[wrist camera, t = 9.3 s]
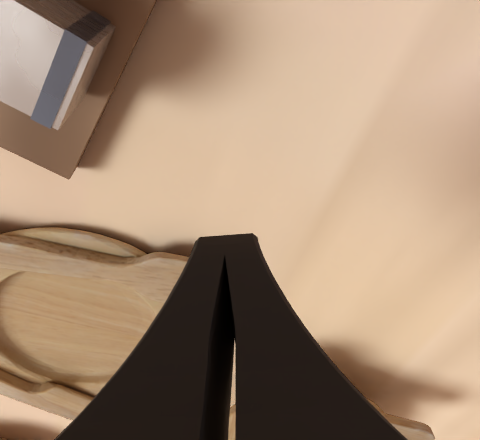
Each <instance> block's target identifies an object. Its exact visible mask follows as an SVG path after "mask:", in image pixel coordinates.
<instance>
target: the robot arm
mask: <svg viewBox="0 0 480 440" xmlns="http://www.w3.org/2000/svg"><path fill="white" fill-rule="evenodd" d="M234 340H235V344H236V421H235V440H408V439H407V438H406V437H404V436H403V435H402V434H401V433H400V432H399V431H398V430H397V429H396V428H395V427H394V426H393V425H392V424H391V423H390V422H389V421H388V420H387V419H386V418H385V417H384V416H383V415H382V414H381V413H380V412H379V411H378V410H377V409H376V408H375V407H374V406H373V405H372V404H371V403H370V402H369V401H368V400H367V399H366V398H365V397H364V396H363V395H362V394H361V393H360V392H359V391H358V390H357V389H356V388H355V387H354V386H353V385H352V383H351V382H350V381H349V380H348V379H347V378H346V377H345V375H344V374H343V373H342V372H341V371H340V370H339V369H338V367H337V366H336V365H335V364H334V363H333V362H332V361H331V359H330V358H329V357H328V356H327V354H326V353H325V352H324V351H323V349H322V348H321V347H320V346H319V344H318V343H317V342H316V341H315V339H314V338H313V337H312V335H311V334H310V333H309V331H308V330H307V329H306V327H305V326H304V324H303V323H302V321H301V320H300V319H299V317H298V316H297V314H296V313H295V311H294V310H293V308H292V307H291V305H290V304H289V302H288V300H287V299H286V297H285V296H284V294H283V292H282V290H281V289H280V287H279V285H278V284H277V282H276V280H275V278H274V277H273V275H272V273H271V271H270V269H269V267H268V265H267V263H266V261H265V258H264V256H263V254H262V251H261V249H260V246H259V243H258V238H257V237H256V236H255V235H254V234H253V233H250V234H236V235H223V236H209V237H200V238H199V239H198V240H197V241H196V242H195V245H194V247H193V250H192V252H191V254H190V257H189V259H188V261H187V263H186V265H185V267H184V269H183V271H182V273H181V275H180V277H179V279H178V280H177V282H176V284H175V286H174V287H173V289H172V291H171V293H170V295H169V296H168V298H167V300H166V302H165V303H164V305H163V306H162V308H161V310H160V311H159V313H158V314H157V316H156V317H155V319H154V320H153V322H152V323H151V325H150V326H149V328H148V329H147V331H146V333H145V334H144V335H143V337H142V338H141V340H140V341H139V342H138V344H137V345H136V347H135V348H134V349H133V351H132V352H131V353H130V355H129V356H128V357H127V359H126V360H125V361H124V362H123V364H122V365H121V366H120V368H119V369H118V370H117V371H116V373H115V374H114V375H113V376H112V377H111V379H110V380H109V381H108V382H107V383H106V384H105V386H104V387H103V388H102V389H101V390H100V391H99V393H98V394H97V395H96V396H95V397H94V398H93V400H92V401H91V402H90V403H89V404H88V405H87V406H86V407H85V408H84V410H83V411H82V412H81V413H80V414H79V415H78V416H77V417H76V418H75V419H74V420H73V421H72V422H71V423H70V424H69V425H68V426H67V427H66V428H65V429H64V430H63V431H62V432H61V433H60V434H59V435H58V436H57V437H56V438H55V439H54V440H228V433H229V416H230V401H231V386H232V371H233V356H234Z"/></svg>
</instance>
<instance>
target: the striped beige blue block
mask: <svg viewBox="0 0 480 440" xmlns="http://www.w3.org/2000/svg"><path fill="white" fill-rule="evenodd" d="M110 22H111V21H109V20H108V19H106V18H105V17H103V16H101V15H100V14H98V13H97V12H95V11H92V12H91V11H90V10H88V9H86V8H85V7H83V6H81V5H80V4H78V3H77V2H75V1H73V0H0V101H1V102H3V103H5V104H7V105H9V106H11V107H13V108H15V109H17V110H19V111H21V112H23V113H25V114H27V115H29V116H31V118H30V119H32V120H33V121H35V122H37V123H39V124H41V125H43V126H45V127H47V128H49V129H51V128H54V129H56V130H59V129H60V127H61V126H62V125H63V124H64V123H65V121H66V120H67V119H68V118H69V116H70V115H71V114H72V113H73V111H74V110H75V109H76V108H77V106H78V105H79V104H80V103H81V102H82V100H83V99H84V97H85V95H86V92H87V90H88V88H89V86H90V83H91V81H92V79H93V77H94V75H95V72H96V70H97V68H98V66H99V63H100V61H101V59H102V57H103V54H104V52H105V50H106V48H107V45H108V43H109V41H110V39H111V36H112V34H113V32H114V30H115V26H114V25H112V24H111V23H110Z"/></svg>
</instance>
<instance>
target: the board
mask: <svg viewBox="0 0 480 440" xmlns="http://www.w3.org/2000/svg"><path fill="white" fill-rule="evenodd" d="M73 1H75V2H77V3H78V4H80V5H81V6H83V7H85V8H86V9H88V10H90V11H91V12H92V11H95V12H97V13H98V14H100V15H101V16H103V17H105V18H106V19H108V20H109V21H111V22H110V23H111V24H112V25H114V26H115V30H114V32H113V34H112V36H111V39H110V41H109V43H108V45H107V48H106V50H105V52H104V54H103V57H102V59H101V61H100V63H99V66H98V68H97V70H96V72H95V75H94V77H93V79H92V81H91V83H90V86H89V88H88V90H87V92H86V95H85V97H84V99H83V100H82V102H81V103H80V104H79V105H78V106H77V108H76V109H75V110H74V111H73V113H72V114H71V115H70V116H69V118H68V119H67V120H66V121H65V123H64V124H63V125H62V126H61V127H60V129H59V130H56V129H54V128H51V129H49V128H47V127H45V126H43V125H41V124H39V123H37V122H35V121H33V120H32V119H30V118H31V116H29V115H27V114H25V113H23V112H21V111H19V110H17V109H15V108H13V107H11V106H9V105H7V104H5V103H3V102H1V101H0V147H2V148H4V149H6V150H8V151H10V152H12V153H14V154H17V155H19V156H21V157H23V158H25V159H27V160H29V161H31V162H33V163H35V164H37V165H40V166H42V167H44V168H46V169H48V170H50V171H52V172H54V173H56V174H58V175H60V176H63V177H65V178H67V179H70V178H71V176H72V174H73V173H74V171H75V169H76V168H77V166H78V164H79V161H80V159H81V157H82V155H83V153H84V151H85V149H86V147H87V145H88V143H89V141H90V139H91V136H92V134H93V132H94V130H95V128H96V126H97V124H98V122H99V120H100V118H101V116H102V114H103V111H104V109H105V107H106V105H107V103H108V101H109V99H110V97H111V95H112V93H113V91H114V89H115V86H116V84H117V82H118V80H119V78H120V76H121V74H122V72H123V70H124V68H125V66H126V64H127V61H128V59H129V57H130V55H131V53H132V51H133V49H134V47H135V45H136V43H137V41H138V39H139V36H140V34H141V32H142V30H143V28H144V26H145V24H146V22H147V20H148V18H149V16H150V14H151V11H152V9H153V7H154V5H155V3H156V1H157V0H73Z"/></svg>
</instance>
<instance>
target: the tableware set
mask: <svg viewBox="0 0 480 440" xmlns="http://www.w3.org/2000/svg"><path fill="white" fill-rule="evenodd" d="M188 259H189V257H186V256H181V255H176V254H171V253H166V252H153V253H149V254H146V253H144V252H143V251H141V250H139V249H137V248H135V247H134V246H132V245H129V244H127V243H124V242H122V241H119V240H116V239H113V238H109V237H106V236H103V235H100V234H96V233H91V232H87V231H82V230H75V229H67V228H31V229H23V230H16V231H12V232H7V233H3V234H0V394H1V395H4V396H7V397H9V398H12V399H15V400H17V401H20V402H23V403H26V404H28V405H31V406H34V407H36V408H39V409H42V410H45V411H47V412H50V413H53V414H56V415H59V416H62V417H65V418H67V419H70V420H74V419H75V418H76V417H77V416H78V415H79V414H80V413H81V412H82V411H83V410H84V408H85V407H86V406H87V405H88V404H89V403H90V402H91V401H92V400H93V398H94V397H95V396H96V395H97V394H98V393H99V391H100V390H101V389H102V388H103V387H104V386H105V384H106V383H107V382H108V381H109V380H110V379H111V377H112V376H113V375H114V374H115V373H116V371H117V370H118V369H119V368H120V366H121V365H122V364H123V362H124V361H125V360H126V359H127V357H128V356H129V355H130V353H131V352H132V351H133V349H134V348H135V347H136V345H137V344H138V342H139V341H140V340H141V338H142V337H143V335H144V334H145V333H146V331H147V329H148V328H149V326H150V325H151V323H152V322H153V320H154V319H155V317H156V316H157V314H158V313H159V311H160V310H161V308H162V306H163V305H164V303H165V302H166V300H167V298H168V296H169V295H170V293H171V291H172V289H173V287H174V286H175V284H176V282H177V280H178V279H179V277H180V275H181V273H182V271H183V269H184V267H185V265H186V263H187V261H188ZM365 398H366V397H365ZM366 399H367V398H366ZM367 400H368V401H369V402H370V403H371V404H372V405H373V406H374V407H375V408H376V409H377V410H378V411H379V412H380V413H381V414H382V415H383V416H384V417H385V418H386V419H387V420H388V421H389V422H390V423H391V424H392V425H393V426H394V427H395V428H396V429H397V430H398V431H399V432H400V433H401V434H402V435H403V436H404V437H406V438H407V439H408V440H435V437H434V435H433V432H432V430H431V428H430V427H429V426H428V425H426V424H424V423H420V422H417V421H412V420H408V419H404V418H400V417H396V416H393V415H389V414H385V413H383V411H382V410H381V409H380V408H379V407H378V406H377V405H376V404H375V403H374V402H372V401H371V400H369V399H367ZM235 421H236V404H235V405H233V406H232V407H231V408H230V416H229V433H228V440H235ZM0 440H6V439H4V438H0Z"/></svg>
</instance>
